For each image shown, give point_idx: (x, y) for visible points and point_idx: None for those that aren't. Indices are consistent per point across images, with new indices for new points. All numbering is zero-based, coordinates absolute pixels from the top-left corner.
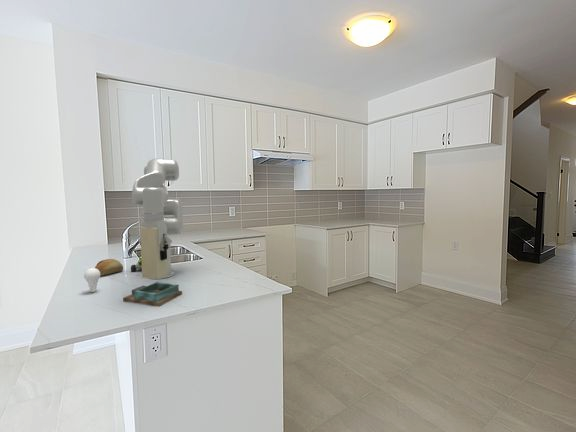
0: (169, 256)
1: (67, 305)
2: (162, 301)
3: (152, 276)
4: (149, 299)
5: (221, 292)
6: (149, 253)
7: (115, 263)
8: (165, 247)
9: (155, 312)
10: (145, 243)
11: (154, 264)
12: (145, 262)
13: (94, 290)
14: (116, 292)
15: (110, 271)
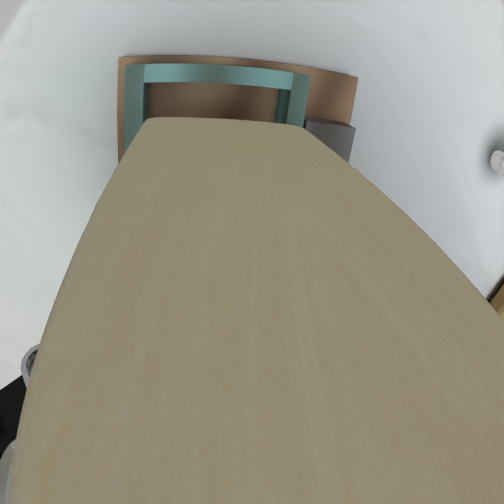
0: None
1: (493, 36)
2: (119, 87)
3: (190, 120)
4: (186, 63)
5: (8, 286)
6: (256, 227)
7: None
8: (5, 401)
9: (89, 3)
10: (448, 385)
11: (151, 153)
12: (302, 165)
13: (493, 156)
14: (431, 166)
15: (497, 298)
